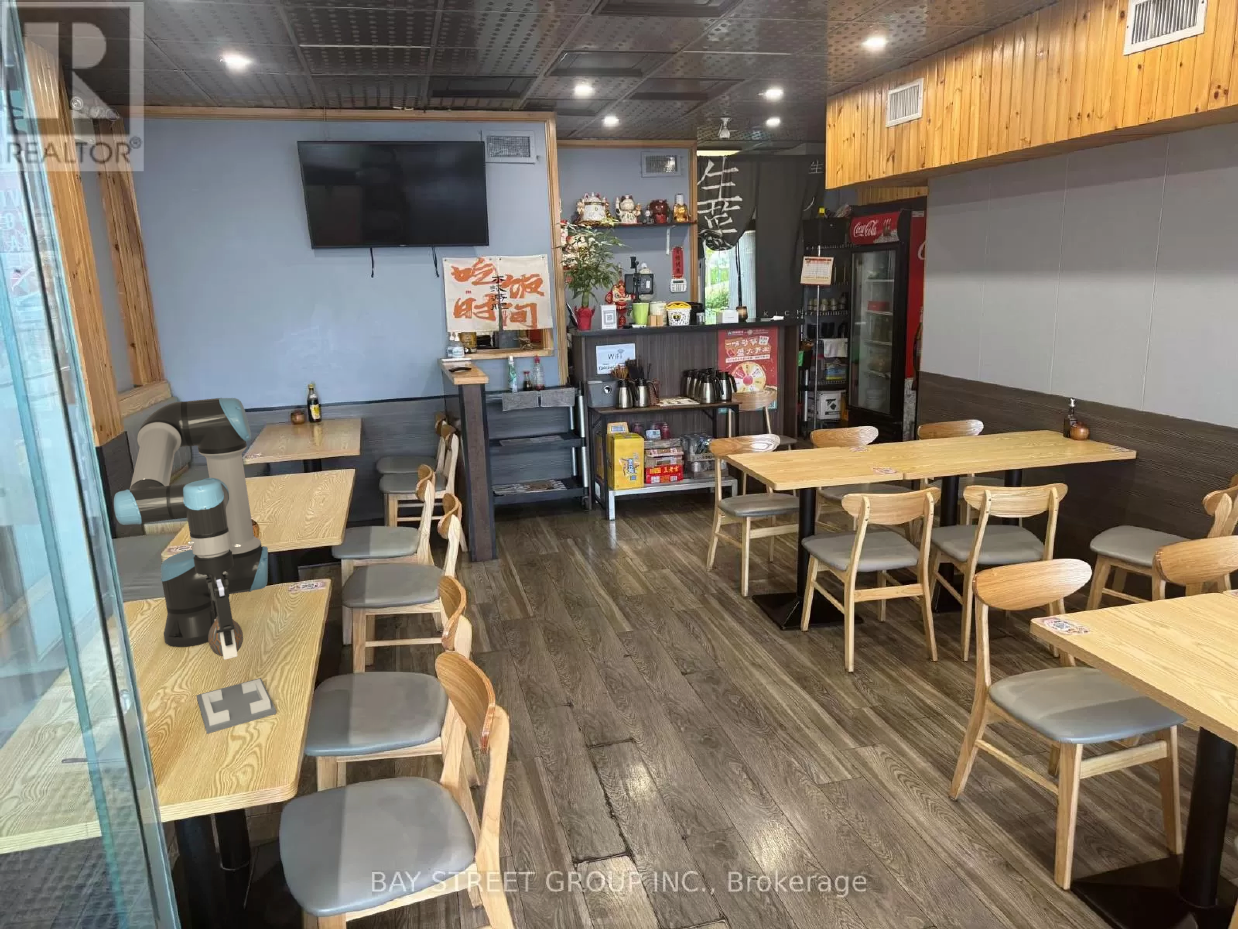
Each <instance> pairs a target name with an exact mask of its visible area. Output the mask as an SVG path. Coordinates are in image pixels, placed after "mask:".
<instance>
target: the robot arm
mask: <svg viewBox="0 0 1238 929" xmlns="http://www.w3.org/2000/svg"><path fill="white" fill-rule="evenodd" d="M138 429H139V430H138V433H137V444H138V447H139V450H138V453H137V457H136V458H137V459H136V462H135V465H134V470H133V475H132V478H131V482H130V487H129V489H125V490H121V491H118V492H116V493H115V494H114V498H113V510H114V515H115V519H116V520H117V522H118V523H119V524H120V525H124V526H127V525H129V526H131V525H142V524H149V523H156V522H163V521H164V522H165V521H170V520H171V521H174V520H181V519H186V520H187V524H188V525H187V526H188V530H189V537H190V540H189V541H188V542H187V545H188V546H191V549H188V550H185V551H182V552H177V553H175V554H173V555H171V556H169V557H166V559H165V560H163V561H162V563H161V565H160V581H161V584H162V588H163V590H162V591H163V594H164V601H165V607H166V613H167V615H166V620H165V621H166V622H165V625H164V631H163V638H164V643H165V645H167V644H168V645H167V646H169V645H170V647H178V648H181V647H182V648H183V647H184V648H185V647H191V646H198V645H202V644H204V643H205V644H206V643H209V641H208V635H209V631H210V628H211V627H212V625H213V623H214V622H215V620H216V617H217V616H218V621H219V627H220V629H219V630H216V632H217V633H220V640H221V646H222V652H223V656H222V658H223V660H228V659H233V658H237V657H238V652H237V650H236V643H235V637H234V630H233V629H234V625H233V620H234V619H233V615H232V610H231V609H232V608H231V602H230V595H233V594H240V593H247V592H248V593H251V592H252V591H257V590H261V589H264V588H265V587H266V586H267V585H268V576H269V575H268V574H269V572H268V571H269V570H268V569H269V553H268V552H269V550H268V549H269V547H268V546H265V545H263V546H262V541H261V540H260V538H258V537H256V536H255V535H254V527H253V522H252V521H253V520H252V513H251V508H250V507H251V506H250V502H249V501H250V500H249V495H248V488H247V481H246V475H245V468H244V462H243V455H242V454H243V452H244V451H245V450H246V449H247V447H248V446H247V442H249V441H251V440H252V431H251V428H250V423H249V419H248V416H247V413H246V410H245V407H244V405H243V403H242V401H241V400H240V399H238V398H236V397H217V398H206V399H196V400H195V399H194V400H186V401H175V402H172V403H169V404H167V405H166V404H165V405H163V406H162V407H159V408H158V409H157V410H155V411H154V412H151V414H150V415H149V416H148V417H147V418H146V419H145V420H144V421H143V422H142V424H141V425H140V427H139V428H138ZM183 447H197V450H198V454H200V455H201V456H203V457H205V459H206V465H207V471H208V472H207V473H208V476H209V477H207V478H204V479H202V480H201V479H200V480H195V481H192V482H190V483H183V484H174V485H170V481H171V476H172V469H173V464H174V459H175V453H177V451H178V450H179V449H180V448H183ZM232 619H233V620H232Z"/></svg>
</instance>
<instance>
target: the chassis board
mask: <svg viewBox="0 0 1238 929" xmlns="http://www.w3.org/2000/svg"><path fill="white" fill-rule="evenodd" d="M196 701H197V704H198V707H199V711H200V715H201V718H202V722H203V725H204V729H205V731H206V734H207V735H208V734H211V733H214V732H217V731H221V730H226V729H228V728H229V729H230V728H232V727H235V726H238V725H243V724H245V723H249V722H253V721H256V720H259V719H264V718H265V717H269V716H274V715H277V709H276V706H275V705H274V703H273V701H272V699H271V697H270V695H269V692H268V690H267V688H266V686H265V684H264V682H263V679H262V677H259V678H255V679H251V680H248V681H247V680H246V681H244V682H241V683H236V684H233V685H229V686H226V687H221V688H219V689H214V690H210V691H207V692H203V693H200V694H196Z"/></svg>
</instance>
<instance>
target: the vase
mask: <svg viewBox="0 0 1238 929" xmlns="http://www.w3.org/2000/svg"><path fill="white" fill-rule="evenodd" d="M232 620H233V625H234V629H233V630H234V637H235V643H236V650H237V653H238V652H239V650H240V649H241V648H242V646H243V642H244V633H243V630H242V627H241V626H240V624H239V623H238V622H237V621H236V620H235V619H233V618H232ZM219 629H220V627H219V621H218V616H217V617H216V620H215V622H214V623H213V625H212V627H211V628H210V631H209V635H208V645H209V648H210V649H211V650H212V652H213V653H214V654H215V655H217V656H219V657H223V652H222V646H221V640H220V633H217V632H216V630H219Z"/></svg>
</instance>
